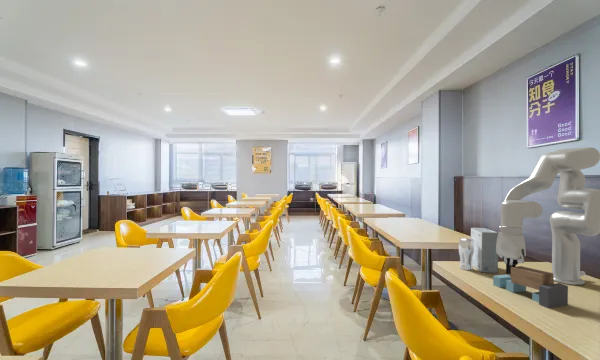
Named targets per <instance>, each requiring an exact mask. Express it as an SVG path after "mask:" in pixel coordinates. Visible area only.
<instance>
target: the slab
mask: <svg viewBox="0 0 600 360" xmlns="http://www.w3.org/2000/svg"><path fill="white" fill-rule="evenodd" d="M510 268H511V275H510V276H511V282H512V283H516V284H519V285H523V286H526V288H531V289H535V290H538V291H539V286H540V285H548V284H555V281H554V276H553V273H552V272H549V271H545V270H541V269H540V270H539V269H536V268H531V267H526V266H522V265H521V266H520V265H519V266H516V267H510Z"/></svg>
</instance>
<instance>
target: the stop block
mask: <svg viewBox="0 0 600 360" xmlns="http://www.w3.org/2000/svg"><path fill="white" fill-rule="evenodd" d="M538 292H539V302H538V306H542V307H544V308H547V309H551V308H557V307H563V306H567V305H569V304H568V303H569V301H568V300H569V299H568V298H569V285H568V284H564V283H560V282H557V283H554V284H548V285H540V286H539V290H538Z"/></svg>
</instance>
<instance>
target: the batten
mask: <svg viewBox="0 0 600 360" xmlns="http://www.w3.org/2000/svg"><path fill="white" fill-rule="evenodd" d="M531 300H532V301H533V302H536V303H539V291H537V292H535V291H534V292H532V293H531Z"/></svg>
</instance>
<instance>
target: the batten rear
mask: <svg viewBox="0 0 600 360" xmlns="http://www.w3.org/2000/svg"><path fill="white" fill-rule="evenodd" d="M492 277H493V280H492V281H493V283H492V285H493V286H495V287H496V288H506V280H511V275H509V274H500V275H497V274H496V275H493V276H492Z"/></svg>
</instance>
